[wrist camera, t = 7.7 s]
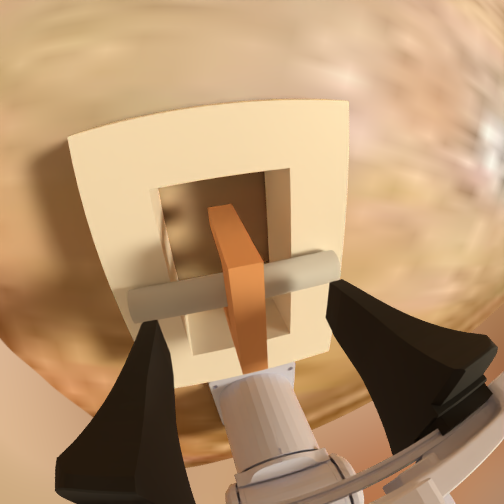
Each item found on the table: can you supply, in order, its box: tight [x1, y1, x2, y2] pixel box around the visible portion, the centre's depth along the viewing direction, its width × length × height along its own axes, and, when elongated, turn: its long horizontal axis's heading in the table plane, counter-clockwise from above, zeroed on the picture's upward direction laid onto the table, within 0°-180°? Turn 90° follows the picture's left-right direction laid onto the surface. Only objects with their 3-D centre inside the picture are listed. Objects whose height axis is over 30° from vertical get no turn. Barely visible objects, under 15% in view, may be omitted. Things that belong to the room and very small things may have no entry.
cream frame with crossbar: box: [67, 99, 349, 388], centre depth 15 cm, size 16×12×6 cm
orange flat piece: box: [208, 204, 268, 375], centre depth 13 cm, size 6×1×6 cm, turn 4°
